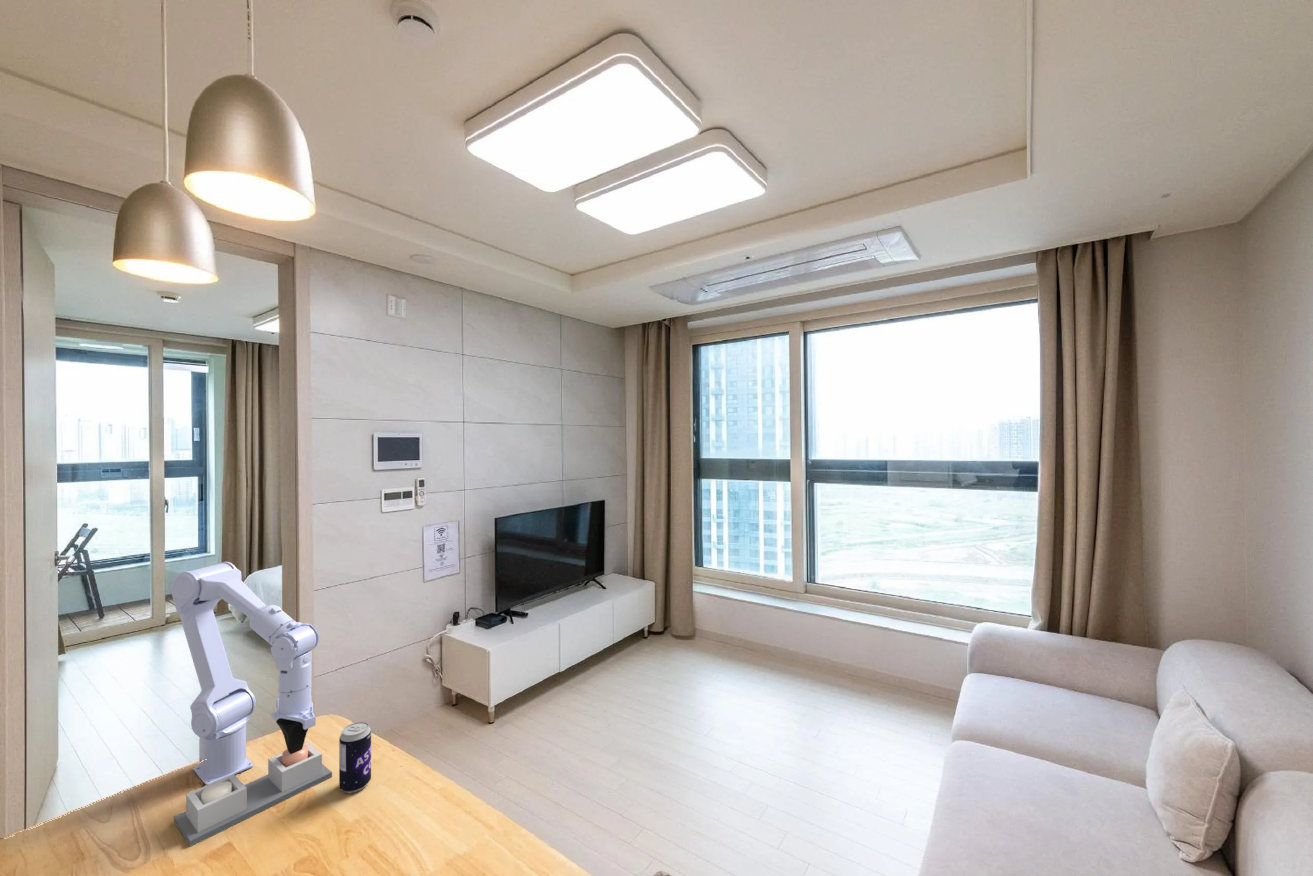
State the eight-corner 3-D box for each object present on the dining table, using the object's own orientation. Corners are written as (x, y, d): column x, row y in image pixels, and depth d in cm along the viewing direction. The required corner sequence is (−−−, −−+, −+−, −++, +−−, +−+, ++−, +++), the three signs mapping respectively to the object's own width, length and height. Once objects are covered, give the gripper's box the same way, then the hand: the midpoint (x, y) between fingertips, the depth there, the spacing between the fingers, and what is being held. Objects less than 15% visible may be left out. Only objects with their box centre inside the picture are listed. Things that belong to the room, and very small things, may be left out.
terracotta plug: (278, 772, 109) (278, 752, 109) (302, 761, 112) (302, 742, 112) (287, 780, 106) (287, 759, 106) (311, 769, 110) (311, 749, 110)
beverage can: (356, 797, 104) (356, 738, 104) (332, 793, 105) (332, 734, 105) (377, 779, 110) (377, 722, 110) (354, 775, 111) (354, 719, 111)
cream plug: (198, 813, 98) (198, 791, 98) (227, 799, 102) (227, 778, 102) (205, 823, 95) (205, 800, 95) (235, 809, 99) (235, 787, 99)
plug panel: (174, 821, 97) (174, 795, 97) (311, 759, 116) (311, 737, 116) (189, 846, 92) (189, 818, 92) (331, 776, 110) (332, 753, 110)
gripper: (259, 683, 110) (259, 747, 110) (287, 705, 101) (287, 774, 102) (297, 671, 116) (297, 732, 116) (326, 690, 107) (326, 756, 107)
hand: (295, 750), depth 109 cm, fingers closed, pressing on terracotta plug
